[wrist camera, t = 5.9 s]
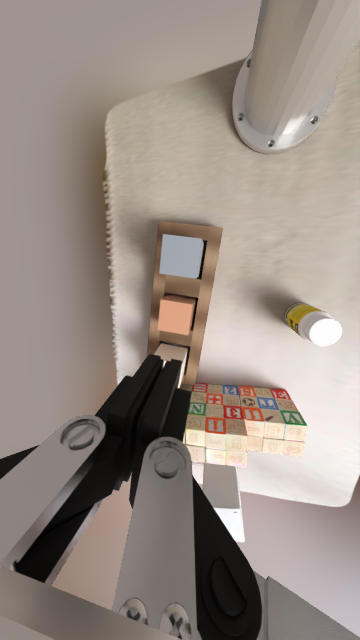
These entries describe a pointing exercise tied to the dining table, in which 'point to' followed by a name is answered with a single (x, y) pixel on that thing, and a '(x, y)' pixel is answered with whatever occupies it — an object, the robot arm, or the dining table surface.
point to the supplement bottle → (313, 324)
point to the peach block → (176, 314)
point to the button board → (185, 293)
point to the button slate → (181, 256)
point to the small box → (225, 496)
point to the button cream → (173, 356)
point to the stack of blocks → (241, 423)
